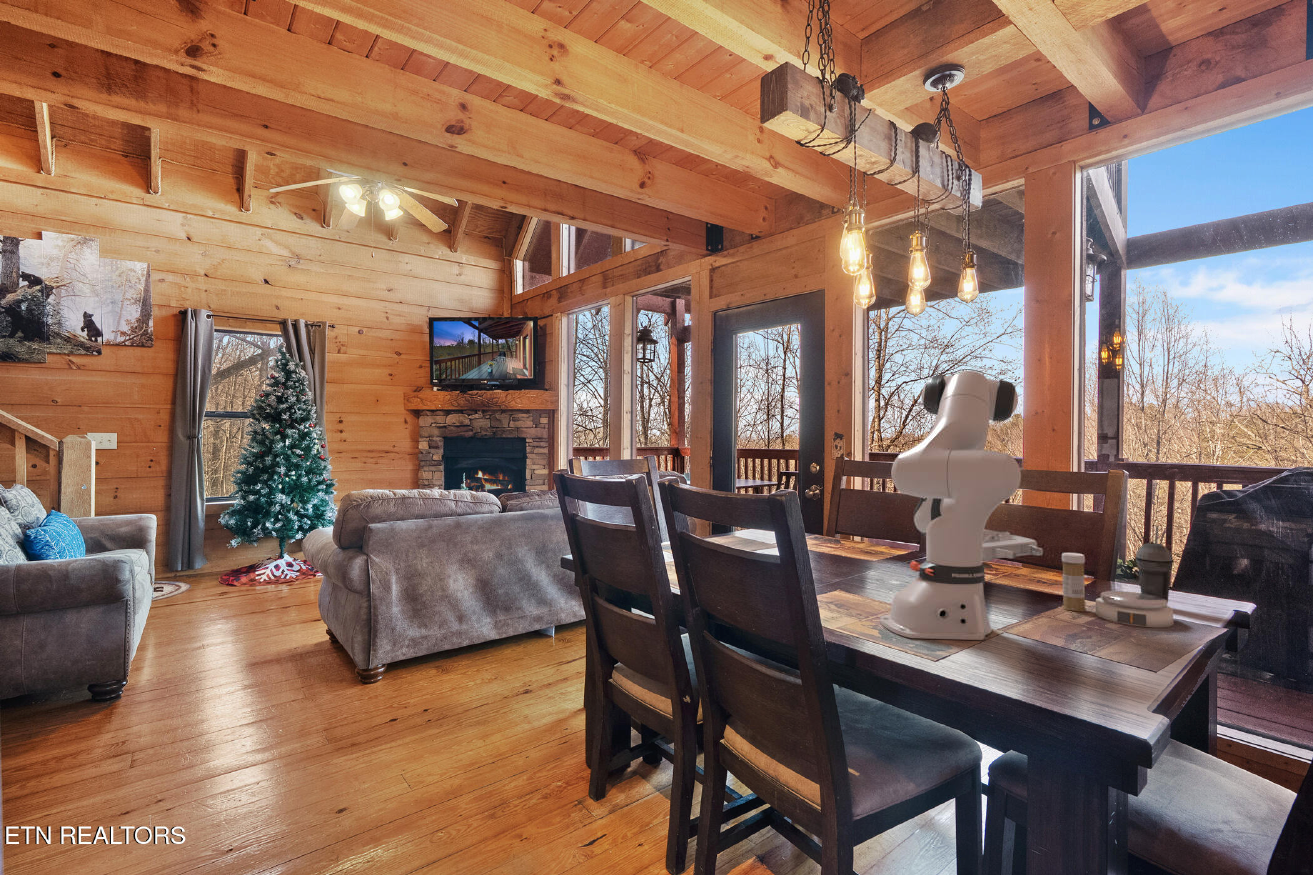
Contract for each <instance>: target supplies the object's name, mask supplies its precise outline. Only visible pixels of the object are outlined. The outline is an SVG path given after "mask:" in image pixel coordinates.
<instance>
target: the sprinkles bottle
mask: <svg viewBox="0 0 1313 875" xmlns="http://www.w3.org/2000/svg"><path fill="white" fill-rule="evenodd" d="M1061 561H1062V562H1061V563H1062V595H1063V599H1062V600H1063V603H1062V604H1063V605H1062V608H1063V609H1064V610H1066V611H1071V612H1076V613H1077V612H1078V613H1079V612H1085V611H1086V607H1085V606H1086V605H1085V604H1086V600H1085V599H1086V598H1085V597H1086V593H1085V592H1086V590H1085V589H1086V588H1085V587H1086V586H1085V562H1086V558H1085V555H1084V554H1082V553H1077V552H1062V554H1061Z"/></svg>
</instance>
